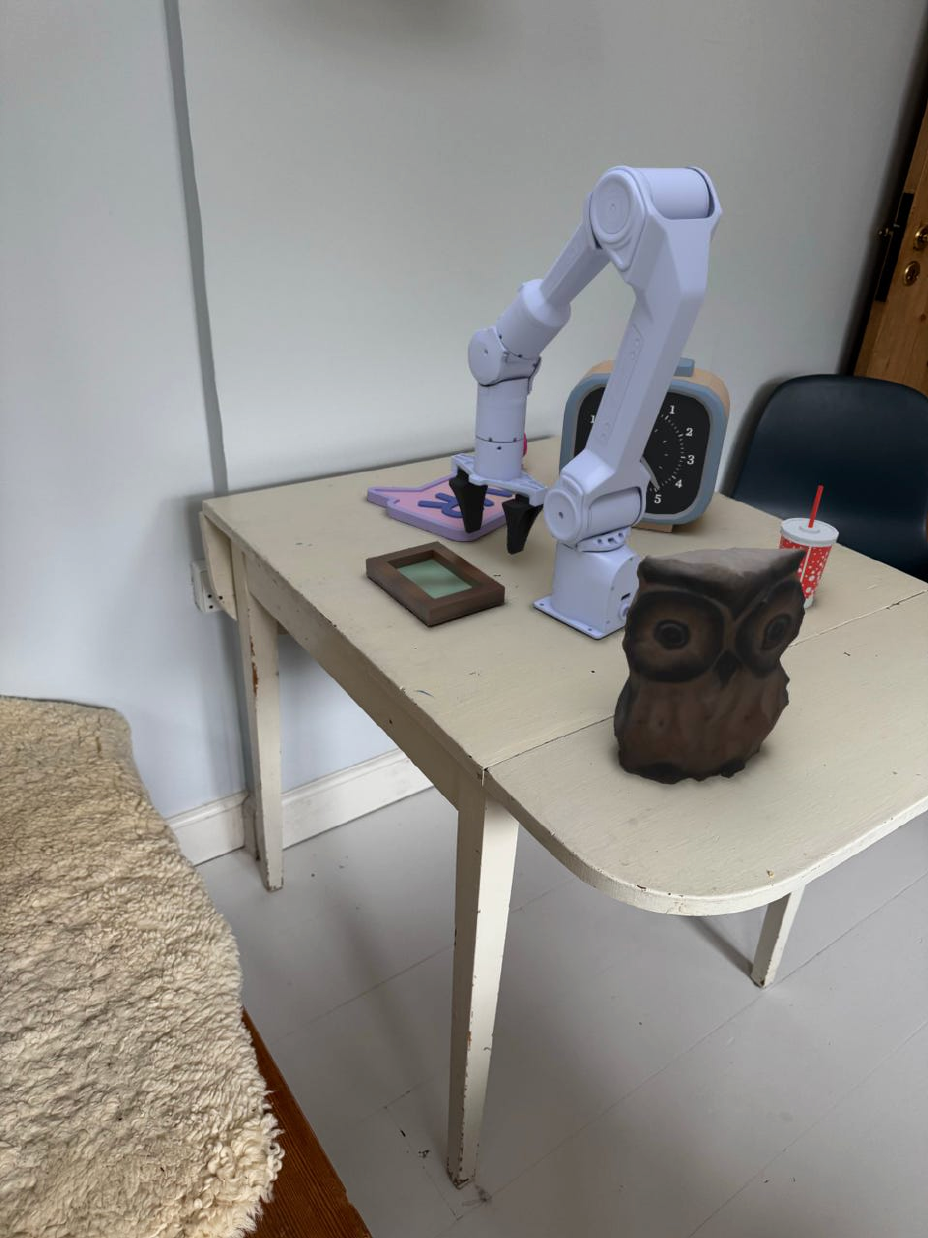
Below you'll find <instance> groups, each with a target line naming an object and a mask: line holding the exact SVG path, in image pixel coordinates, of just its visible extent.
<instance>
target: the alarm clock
mask: <svg viewBox="0 0 928 1238" xmlns="http://www.w3.org/2000/svg"><path fill="white" fill-rule="evenodd" d="M614 362H615V359H610V360H609V359H608V360H602V361H601V362H598V363H597V364H595V365H593V366H592V367H591V368H590V369H589V370H588V371H587V372H586V373H585V374H584V375H583V377H582V378H581V379H580V380H579V382H578V383H576V385H575V386H574V387H573V388H572V390H571V391H570V393H569V395H568V398H567V400H566V402H565V407H564V410H563V411H564V413H563V418H562V419H563V420H562V427H561V428H562V430H561V439H560V440H561V441H560V451H559V460H558V477H559V476H560V473H561V470H562V469H563V468H564V467H565V466H566V465H567V464H568V463H569V462H570V461H572V460H573V459H574V458H575V457H576V456H577V455H579V454H580V453H581V452H582V451H583V450H584V449H585V447H586V444H587V441H588V438H589V435H590V432H591V430H592V427H593V424H594V421H595V418H596V415H597V412H598V409H599V406H600V403H601V400H602V397H603V394H604V392H605V389H606V386H607V383H608V380H609V377H610V374H611V371H612V368H613V365H614ZM695 363H696V361H695V359H693V358H689V357H684V356H683V357H682V356H681V358H680V361H679V363H678V366H677V368H676V371H675V373H674V376H673V378H672V381H671V383H670V386H669V388H668V391H667V393H666V396H665V398H664V401H663V403H662V406H661V408H660V411H659V413H658V416H657V418H656V421H655V423H654V426H653V428H652V431H651V433H650V436H649V438H648V441H647V443H646V446H645V448H644V451H643V453H642V456H641V458H640V462H641V463H642V464H643V465H644V467H645V468H646V470H647V471H648V473H649V475H650V477H651V478H650V481H649V483H648V486H647V489H646V507H645V512H644V515H643V517H642V519H641V520H640V521H639V522H638V523H637V524H636V525H634V526H631V528H632V527H633V528H639V529H644V530H645V529H646V530H652V531H658V532H665V533H672V530H673V526H674V525H685V524H688V523H690V522H692V521H695V520H697V519H699V517H700V516H702V514H703V513H705V512H706V510H707V509H708V507H709V505H710V503H711V502H712V499H713V496H714V493H715V490H716V484H717V479H718V475H719V470H720V465H721V458H722V455H723V449H724V444H725V438H726V434H727V428H728V424H729V418H730V410H731V399H730V394H729V390H728V388H727V386H726V384H725V382H724V380H722V379H721V378H720V377H719V376H717V375H716V374H715V373H714V372H713V371H710V370H705V369H702V368H698V367H695Z"/></svg>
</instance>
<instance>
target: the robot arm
mask: <svg viewBox="0 0 928 1238" xmlns="http://www.w3.org/2000/svg"><path fill="white" fill-rule="evenodd" d="M723 213H724V211H723V208H722V207H721V204H720V200H719V197H718V195H717V192H716V189H715V186H714V183H713V181H712V179H711V177H710V175H709V174H708V173H707V172H706V171H705V170H703V169H701V168H699V167H697V166H693V165H688V166H683V167H682V166H681V167H673V168H672V167H630V166H628V165H615V166H613V167H610V168H608V169H607V170H605V171H604V172H603V174H602V175H601V176H600V177H599V179H598V180H597V182H596V183H595V185H594V189H592V190H591V191H590V192H589V193H588V194H587V195H586V196H585V198H584V199H583V209H582V220H581V221H580V223H579V224H578V226H577V227H576V229H575V230H574V232H573V233H572V235H571V237H570V238H569V240H568V241H567V243H566V244H565V246H564V247H563V249H562V251H561V252H560V253H559V255H558V256H557V258H556V260H555V261H554V263H552V266H551V267H550V268H549V270H548V272H547V274H546V275H545V277H544V278H534V279H530V280H529V281H524V282H522V283H521V284H520V286H519V287H518V288H517V292H518V294H516V296H515V298H514V299H513V300H512V302H511V303H510V304H509V306H508V307H507V308H506V309H505V311H504V312H503V313H501V314H500V315H499V316H498V318H497V321H496V323H495V324H494V325H492V326H489V327H488V328H480V329H477V330H475V331H474V332H473V335H472V337H471V338H470V340H469V344H468V349H467V363H468V368H469V370H470V374H471V375H472V377H473V378H474V380H475V381H476V382H477V385H476V407H475V408H476V410H475V432H474V433H475V436H474V456H473V455H471V454H466V453H464V452H461V453H458V454H455V455H451V457H450V458H451V460H450V463H451V464H450V471H451V472H452V473H454V472H455V473H457V475H456V477H454V478H451V479H449V486H450V488H451V489H452V491H453V493H454V495H455V497H456V499H457V502H458V504H459V507H460V511H461V515H462V519H463V523H464V528H465V532H466V533H468V534H469V533H472V532H475V531H478V530H480V529H481V525H482V519H483V508H484V501H485V496H486V492H487V489H488V485H489V486H493V487H497V488H500V489H502V490H504V491H507V492H509V493H511V494H514V495H515V499H511V500H508V501H505V502H502V508H503V510H504V514H505V518H506V550H507V553H508V554H510V555H516V554H517V553H518V554H519V553H521V552H523V551H524V548H525V545H526V542H527V540H528V536H529V535H530V533H531V529H532V527H533V525H534V523H535V521H536V519H537V518H538V516H539V515H540V513H541V512H542V511H543V519H544V522H545V525H546V527H547V529H548V531H549V532H550V534H551V537H552V538H553V539H554V540H556V543H555V544H556V545H555V556H554V563H553V564H554V565H553V574H552V575H553V576H552V585H551V586H552V587H551V594H549V595H547V596H545V597H541V598H540V599H537V600H536V601H534V602H533V607H535V608H536V609H538V610H540V611H542V612H544V613H546V614H548V615H549V616H551V617H554V618H555V619H557V620H559V621H561V622H563V623H564V624H567V625H569V626H570V627H572V628H574V629H577V631H580V632H581V633H583V634H586V635H587V636H590V637H591V638H593V639H596V640H600V639H603V638H604V637H606V636H607V635H609V634H612V633H614V632H615V631H617V630H619V629H621V628H624V627H625V623H626V614H627V612H628V609H629V607H630V605H631V603H632V601H633V598H634V596H635V594H636V591H637V589H638V587H639V579H638V577H637V569H638V565H639V563H640V562H641V561H643V559H644V557H642V556H641V555H639V554H638V553H636V552H635V551H634V550H632V548H631V547H630V546H629V544H627V542H626V539H627V538H630V537H631V532H632V531H631V530H632V526H634V525H636V524H637V523H638V522H639V521H640V520H641V519H642V517H643V515H644V512H645V507H646V489H647V486H648V483H649V481H650V478H651V477H650V475H649V473H648V471H647V470H646V468H645V467H644V465H643V464H642V463H641V462H640V458H641V456H642V453H643V451H644V448H645V446H646V443H647V441H648V438H649V436H650V433H651V431H652V428H653V426H654V423H655V421H656V418H657V416H658V413H659V411H660V408H661V406H662V403H663V401H664V398H665V396H666V393H667V391H668V388H669V386H670V383H671V381H672V378H673V376H674V373H675V371H676V368H677V366H678V363H679V361H680V358H681V357H682V355H683V353H684V350H685V348H686V345H687V343H688V340H689V338H690V335H691V333H692V331H693V328H694V325H695V323H696V320H697V318H698V316H699V313H700V310H701V308H702V305H703V303H704V301H705V297H706V293H707V287H708V275H709V264H710V263H709V262H710V249H711V245H712V242H713V239H714V237H715V234H716V231H717V228H718V226H719V224H720V221H721V218H722V216H723ZM610 263H612V265H613V266H614V268H615V269H616V271H617V272H618V274H619V275H620V277H621V278H622V280H623V281H624V283H625V284H626V285H629V286H630V287H631V288H632V290H633V293H634V296H635V302H634V304H633V307H632V309H631V313H630V315H629V318H628V322H627V325H626V328H625V331H624V334H623V336H622V339H621V341H620V345H619V348H618V350H617V353H616V357H615V359H614V360H615V362H614V365H613V368H612V371H611V374H610V377H609V380H608V383H607V386H606V389H605V392H604V394H603V397H602V400H601V403H600V406H599V409H598V412H597V415H596V418H595V421H594V424H593V427H592V430H591V432H590V435H589V438H588V441H587V444H586V447H585V449H584V450H583V451H582V452H581V453H580V454H579V455H577V456H576V457H575V458H574V459H573V460H572V461H570V462H569V463H568V464H567V465H566V466H565V467H564V468H563V469H562V470H561V473H560V476H559V475H558V478H557V480H556V482H555V483H554V484H553V486H551V487H550V488H549V487H548V486H546V485H544V484H542V483H540V482H539V481H537V480H536V479H535V478H533V477H532V476H531V475H530V474H529V473H527V472H526V471H525V470H523V469H522V464H523V460H524V457H523V446H524V432H525V430H526V416H527V402H528V401H527V400H528V396H529V395H530V394H531V392H533V383H534V379H535V377H536V376H537V375H538V373H539V371H540V368H541V365H542V359H543V358H542V356H541V354H542V352H544V351H545V349H546V348H547V347H548V346H549V344H550V343H551V342H552V341H553V340H554V339H555V338H556V337H557V336H558V335H559V333H560V332H561V331H562V329H563V328H564V327H565V326H566V325H567V324H568V323H569V321H570V319H571V316H572V307H571V306H572V305H571V302H572V301H573V300H574V299H576V297H578V295H579V294H580V293H581V292H582V291H583V290H584V289H585V288H586V287H587V286H588V285H589V284H590V283H591V282H592V281H593V280H594V279H595V278H596V277H597V276H598V275H599V274H600V273H601V272H602V271H603V270H604V269H605V268H606V267H607V266H608V265H609V264H610ZM525 433H526V432H525Z"/></svg>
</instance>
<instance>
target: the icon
mask: <svg viewBox="0 0 928 1238" xmlns="http://www.w3.org/2000/svg"><path fill="white" fill-rule="evenodd" d="M456 475H457V473H455V472H452V473H449V474H447V475H445V476H442V477H440V478H437V479H435V480H433V481H431V482H427V483H426V484H423V485H421V486H417V487H409V486H408V487H405V486H370V487H368V488H367V490H366V493H367V501H368V502H370V503H373V504H375V505H378V506H381V507H384V508H386V510H387V511H386V512H387V516H388V517H389V518H392V519H394V520H397V521H400V522H403V523H405V524H408V525H411V526H414V527H416V528H419V529H421V530H423V531H424V530H425V531H428V532H430V533H433V534H435V535H438V536H441V537H444V538H446V539H448V540H449V539H450V540H452V541H456V542H470V541H471V542H472V541H475V540H476V539H479V538H481V537H482V536H484V535H486V534H488V533H490V532H492V531H495V530H496V529H499V528H500V527H502V526H504V525H505V524H506V518H505V514H504V510H503V508H502V502H505V501H508V500H511V499H515V495H514V494H511V493H509V492H507V491H504V490H502V489H500V488H497V487H493V486H489V485H488V489H487V492H486V496H485V501H484V508H483V519H482V525H481V529H480V530H478V531H475V532H472V533H469V534H468V533H466V532H465V528H464V523H463V519H462V515H461V511H460V507H459V504H458V502H457V499H456V497H455V495H454V493H453V491H452V489H451V488H450V486H449V479H451V478H454V477H456ZM506 525H507V524H506Z"/></svg>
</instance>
